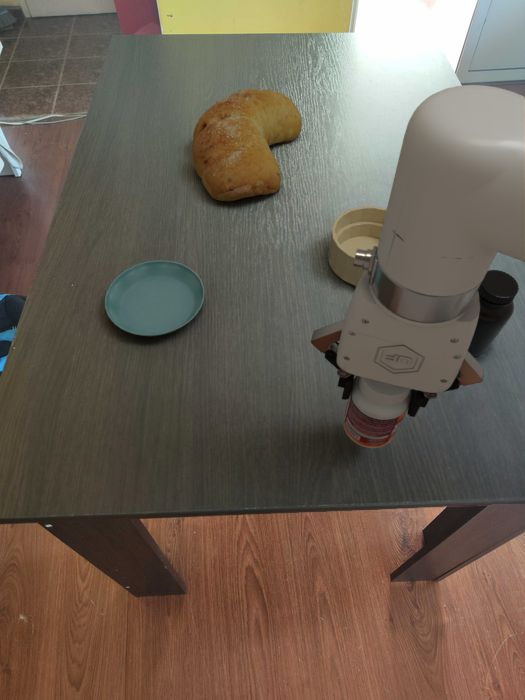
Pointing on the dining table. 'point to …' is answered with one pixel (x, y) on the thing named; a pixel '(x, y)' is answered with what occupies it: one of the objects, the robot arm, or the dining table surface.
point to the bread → (243, 143)
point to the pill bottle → (375, 411)
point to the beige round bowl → (354, 239)
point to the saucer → (154, 298)
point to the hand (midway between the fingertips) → (379, 395)
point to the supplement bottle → (493, 309)
